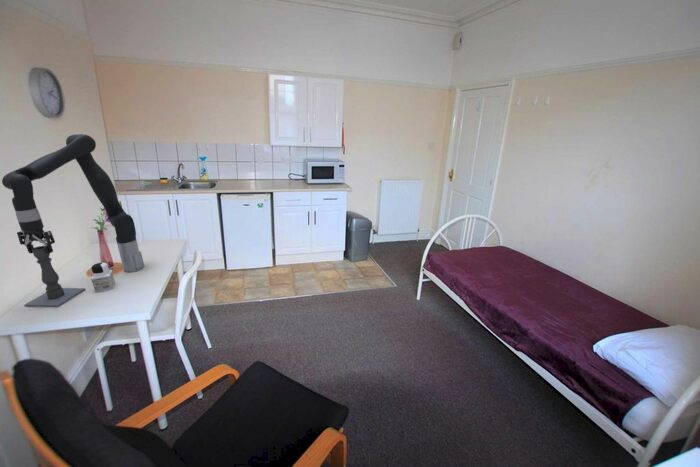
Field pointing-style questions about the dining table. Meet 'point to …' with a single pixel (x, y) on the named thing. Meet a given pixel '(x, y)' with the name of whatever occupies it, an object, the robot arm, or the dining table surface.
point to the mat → (45, 302)
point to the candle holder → (48, 273)
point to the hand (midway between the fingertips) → (41, 252)
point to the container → (102, 277)
